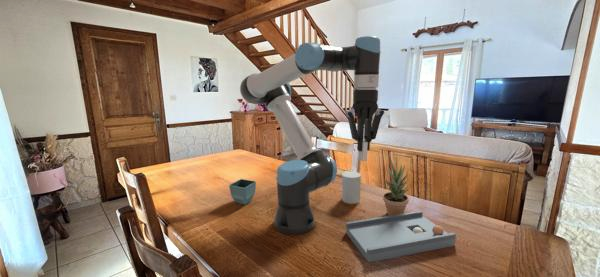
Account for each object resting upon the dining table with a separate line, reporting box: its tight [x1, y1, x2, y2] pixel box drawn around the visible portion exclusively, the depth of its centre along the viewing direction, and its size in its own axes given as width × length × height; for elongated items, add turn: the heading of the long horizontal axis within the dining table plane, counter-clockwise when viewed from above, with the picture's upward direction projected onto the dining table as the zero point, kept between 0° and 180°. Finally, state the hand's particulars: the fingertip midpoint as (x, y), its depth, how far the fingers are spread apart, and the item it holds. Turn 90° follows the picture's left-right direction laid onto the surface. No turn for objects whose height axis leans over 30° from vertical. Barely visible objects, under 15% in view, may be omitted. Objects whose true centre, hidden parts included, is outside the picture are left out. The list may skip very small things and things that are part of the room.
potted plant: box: [382, 154, 410, 216], centre depth 99 cm, size 10×10×25 cm
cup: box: [341, 171, 362, 205], centre depth 114 cm, size 8×8×12 cm
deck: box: [345, 210, 457, 263], centre depth 84 cm, size 30×16×4 cm, turn 103°
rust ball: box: [432, 224, 445, 236], centre depth 82 cm, size 3×3×3 cm
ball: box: [413, 227, 423, 233], centre depth 85 cm, size 3×3×3 cm
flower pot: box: [228, 178, 257, 205], centre depth 115 cm, size 9×9×9 cm
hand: (362, 160), depth 86 cm, fingers closed
